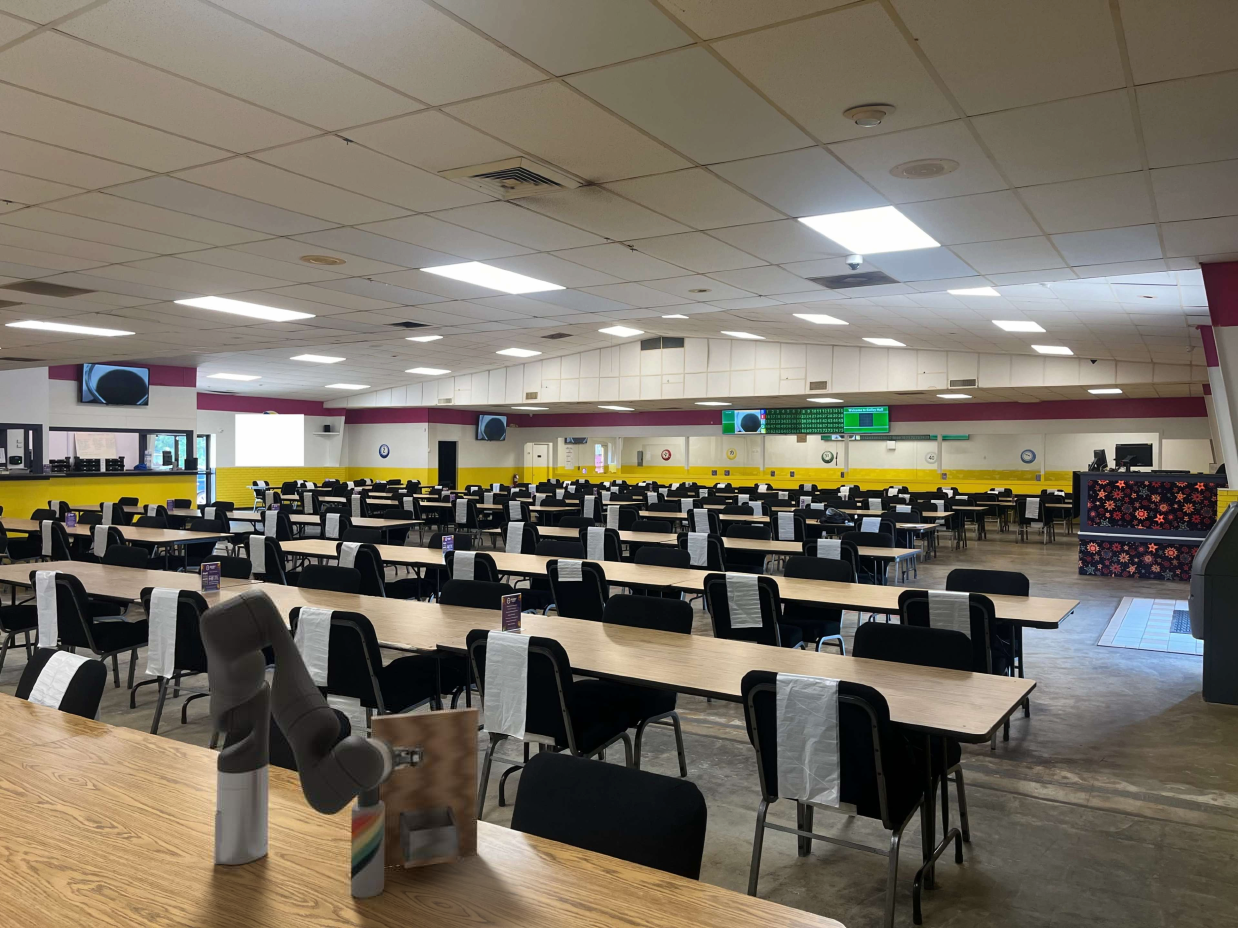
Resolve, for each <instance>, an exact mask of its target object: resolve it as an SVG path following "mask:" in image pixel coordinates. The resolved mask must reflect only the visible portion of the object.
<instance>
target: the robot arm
mask: <svg viewBox="0 0 1238 928" xmlns="http://www.w3.org/2000/svg"><path fill="white" fill-rule="evenodd" d="M199 632H200V638H201V641H202V644H203V647H204V650H205V654H206V658H207V681H208V685H209V690H210V699H209V708H208V709H209V719H210V723H211V726H212V728H213V729H214V730H215V731H216V732H219V733H224V734H225V733H238V732H246V731H251V732H250V734H249V735H248V736H247V737H246V738H244V739H243V740H241V741H239V742H237V743H235V744H233V745H231V746H228V747H226V748H224V749H223V750H221V751H220V752H219V753H218V755H217V759H216V810H215V813H214V850H213V851H214V857H213V858H214V862H213V863H214V865H229V866H231V865H242V864H248V863H252V862H255V861H257V860H259V859H261V858H263V857H264V856H266V854H267V853H268V850H269V849H268V847H269V845H268V843H269V791H270V790H269V783H270V782H269V781H270V780H269V778H270V775H269V774H270V757H269V756H270V748H269V745H270V744H269V743H270V724H271V714H272V717H273V719H274V721H275V722H276V725H277V726H278V728H279V729H280V731H281V732H282V734H283V736H284V737H285V739H286V741H287V742H288V743H289V745H290V747H291V749H292V752H293V756H294V760H295V763H296V767H297V772H298V778H299V782H300V786H301V791H302V794H303V795H304V798H305V801H306V802H307V803H308V804H309V806H310V807H311V808H312V809H313V810H314V811H316V812H317V813H319V814H322V815H326V816H331V815H335V814H337V813H339V812H341V811H342V810H343V809H344V808H345V807H347V806H348V805H349V804H350V803H351V802H352V801H353V800H354V799H355V798H356V797H357V795H358V794H360V793H363V792H365V791H369V790H372V789H374V788H376V787H377V786H379V785H381V784H383V783H384V782H386V781H387V780H388V779H389V778H390V777H391V775H392V774H393V772H394V770H396V769H402V768H404V766H405V765H409V766H412V767H415V766H418V765H420V764H423V748H421V747H420V748H418V749H414V750H413V748H408V749H404V747H395V748H392V746H391V745H390V744H389V743H388V742H387V741H385V740H383V739H380V738H371V737H368V738H365V737H363V736H361V735H357V734H353V735H349V736H347V737H346V738H344V739H343V740H341V741H340V742H338V743H337V744H336V745H335V746H334V747H333V748H332V749H331V750H330V748H331V747H332V745H333V744H334V743H335V741H336V740H337V738H338V736H339V734H340V732H341V727H342V726H341V721H340V719H339V718H338V716H337V714H336V713H335V712H334V710H333V709H332V707H331V706H330V704H329V703H328V701H327V700H326V698H325V697H324V695H323V694H322V692H321V691H320V689H319V688H318V686H317V685H316V683H315V682H314V680H313V678H312V676H311V674H310V672H309V670H308V667H307V666H306V664H305V661H304V659H303V656H302V655H301V653H300V650H299V648H298V646H297V643H296V642H295V640H294V639H293V636H292V634H291V632H290V630H289V628H288V626H287V624H286V622H285V620H284V618H283V616H282V615H281V612H280V611H279V608H278V607H277V605H276V604H275V601H273V599H272V598H271V596H270V595H269V594H267V592H265V591H264V590H262V589H259V588H254V589H250V590H248V591H245V592H242V593H240V594H238V595H236V596H233V597H231V598H229V599H226V600H224V601H222V602H220V603H217V604H215V605H213V606H211V607H209V608H208V609H206V610H205V611H204V612H203V613H202V615H201V616H200V619H199ZM269 646H271V647H272V649H273V653H274V669H273V676H272V681H271V687H270V685H269V683H268V682H267V681H266V680H265V679H266V674H267V673H266V672H267V671H266V670H267V669H266V668H267V661H266V657H265V655H264V653H263V651H262V649H264V648H267V647H269ZM329 750H330V751H329ZM405 753H406V756H404V754H405Z"/></svg>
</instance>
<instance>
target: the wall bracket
mask: <svg viewBox="0 0 1238 928" xmlns="http://www.w3.org/2000/svg"><path fill="white" fill-rule="evenodd" d="M370 738H380V739H383V740H385V741H387V742H388V743H389V744H390V745H391V746H392V748H395V747H404V749H408V748H413V750H414V749H418V748H420V747H421V748H423V764H420V765H418V766H415V767H412V766H409V765H405V766H404V768H402V769H396V770H394V772H393V774H392V775H391V777H390V778H389V779H388V780H387V781H386V782H384V783H383V784H381V785H380V792H379V800H381V801H383V802H384V804H385V848H384V867H389V868H391V867H390V866H396V867H398V866H397V865H402V866H404V869H409V868H414V867H415V868H416V867H421V866H428V865H434V864H441V863H442V864H443V863H449V862H455V861H460V858H461V857H468V856H469V857H470V856H475V855H478V797H479V796H478V792H479V791H478V787H479V786H478V785H479V784H478V783H479V782H478V777H479V774H478V773H479V772H478V771H479V769H478V767H479V766H478V765H479V762H478V761H479V709H478V707H475V706H474V707H465V708H454V709H443V710H441V709H440V710H433V711H421V712H411V713H410V712H407V713H399V714H398V713H397V714H396V713H395V714H386V715H385V714H384V715H375V716H373V715H372V716H370ZM404 756H406V753H405V754H404Z"/></svg>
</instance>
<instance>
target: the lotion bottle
mask: <svg viewBox="0 0 1238 928" xmlns="http://www.w3.org/2000/svg"><path fill="white" fill-rule="evenodd" d="M379 792H380V785H379V786H377V787H376V788H374V789H372V790H369V791H365V792H363V793H360V794H358V795H357V796H356V797H357V800H356V801H357V802H355V803H354V804H352V806H351V819H350V821H351V825H350V826H351V828H350V829H351V830H350V831H351V832H350V835H351V836H350V843H351V844H350V893H351V895H352V896H353V897H356V898H360V899H367V898H372V897H375V896H378V895H379V894H381V893H382V892H383V891H384V888H385V868H384V848H385V804H384V802H383V801H381V800H379Z"/></svg>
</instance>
